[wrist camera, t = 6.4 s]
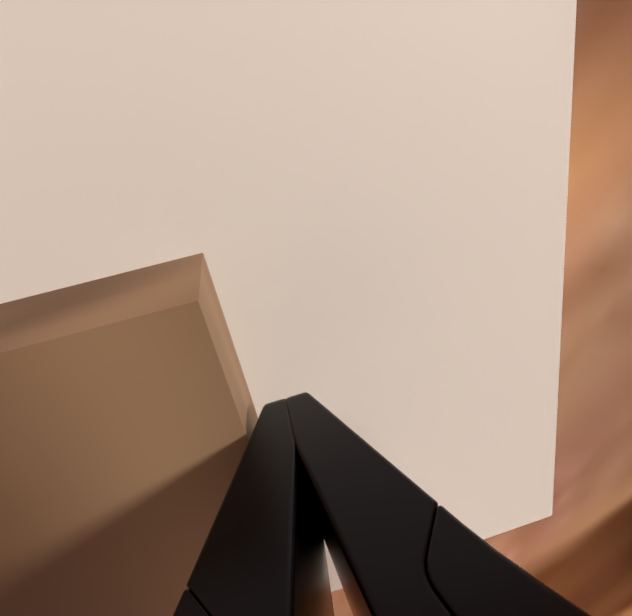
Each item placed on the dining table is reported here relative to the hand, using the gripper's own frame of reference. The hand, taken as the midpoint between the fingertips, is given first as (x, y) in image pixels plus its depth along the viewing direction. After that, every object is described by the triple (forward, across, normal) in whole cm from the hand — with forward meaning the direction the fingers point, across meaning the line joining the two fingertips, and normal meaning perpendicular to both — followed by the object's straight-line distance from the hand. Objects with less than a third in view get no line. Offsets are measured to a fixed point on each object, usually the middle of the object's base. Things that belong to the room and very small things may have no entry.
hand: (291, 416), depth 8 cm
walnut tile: (+1, +5, 0) cm, 5 cm away
